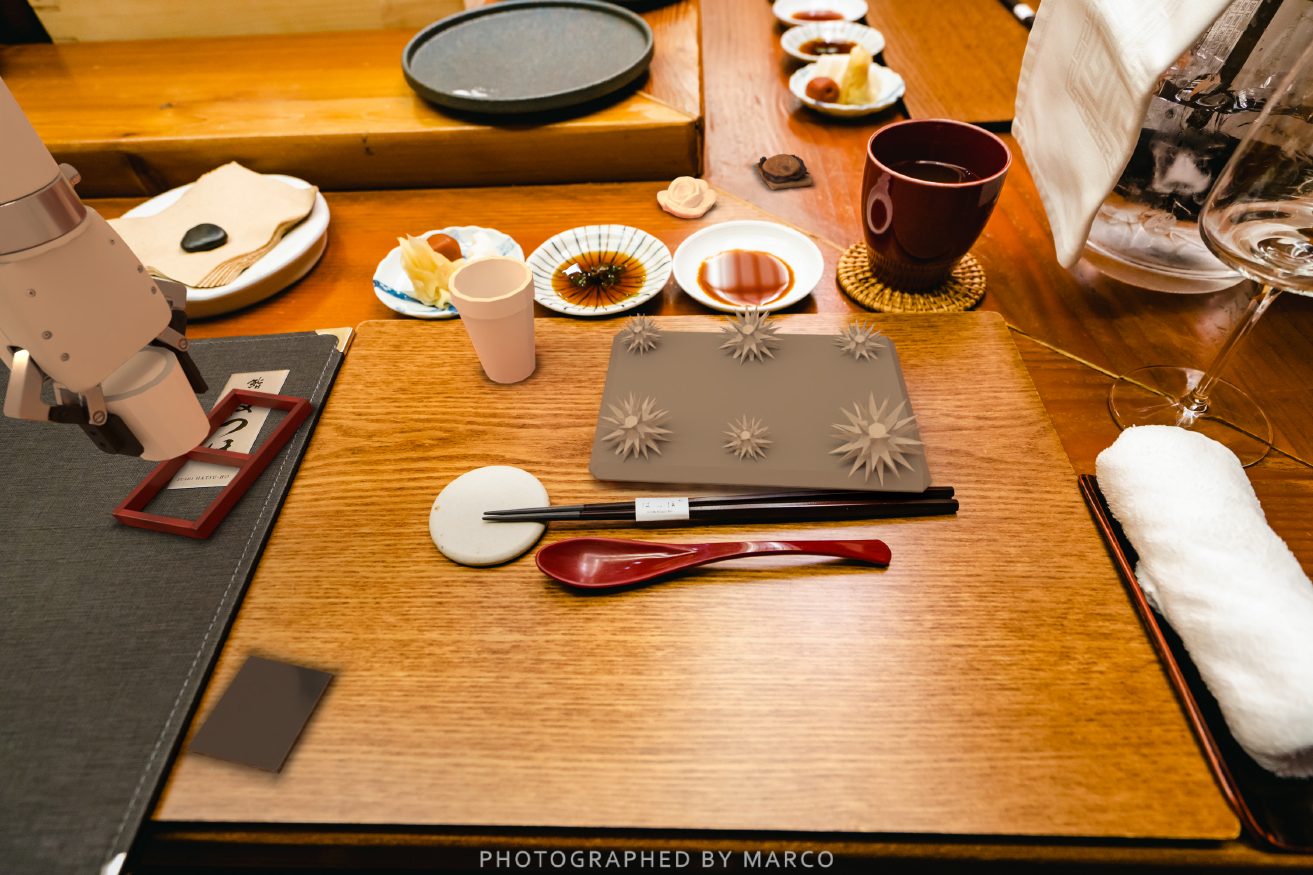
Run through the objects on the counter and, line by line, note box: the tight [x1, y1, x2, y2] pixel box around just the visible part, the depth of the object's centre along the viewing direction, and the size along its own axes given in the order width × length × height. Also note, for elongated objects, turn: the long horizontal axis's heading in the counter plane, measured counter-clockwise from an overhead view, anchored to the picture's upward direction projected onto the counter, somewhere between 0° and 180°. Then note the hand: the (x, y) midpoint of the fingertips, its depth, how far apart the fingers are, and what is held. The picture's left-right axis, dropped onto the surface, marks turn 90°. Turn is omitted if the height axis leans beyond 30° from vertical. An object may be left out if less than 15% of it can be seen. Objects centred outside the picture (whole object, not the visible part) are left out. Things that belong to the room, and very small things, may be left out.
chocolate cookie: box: [755, 153, 813, 190], centre depth 120 cm, size 11×8×4 cm
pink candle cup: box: [78, 345, 210, 462], centre depth 54 cm, size 7×7×7 cm
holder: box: [110, 387, 314, 540], centre depth 75 cm, size 10×19×2 cm, turn 168°
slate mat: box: [186, 655, 335, 774], centre depth 55 cm, size 8×8×1 cm
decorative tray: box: [587, 304, 933, 493], centre depth 75 cm, size 35×26×10 cm
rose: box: [656, 176, 718, 219], centre depth 113 cm, size 10×4×10 cm
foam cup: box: [447, 255, 536, 384], centre depth 81 cm, size 10×9×13 cm
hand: (159, 418), depth 55 cm, fingers closed on pink candle cup, 6 cm apart
